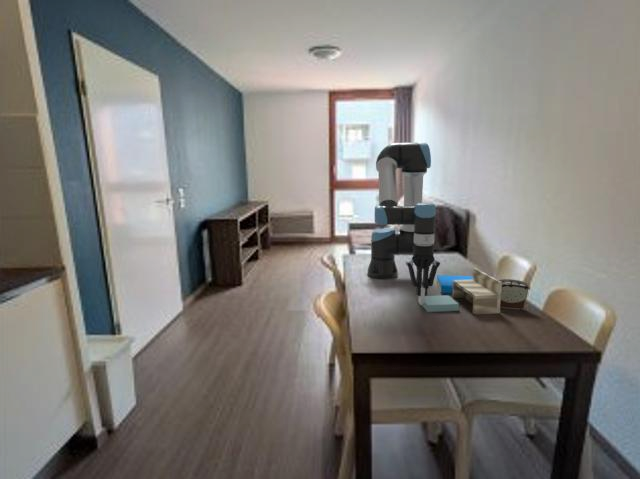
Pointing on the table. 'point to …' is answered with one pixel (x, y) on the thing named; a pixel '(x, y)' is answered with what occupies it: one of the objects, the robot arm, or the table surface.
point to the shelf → (479, 292)
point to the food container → (513, 294)
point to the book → (449, 282)
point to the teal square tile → (440, 303)
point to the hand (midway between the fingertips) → (421, 303)
